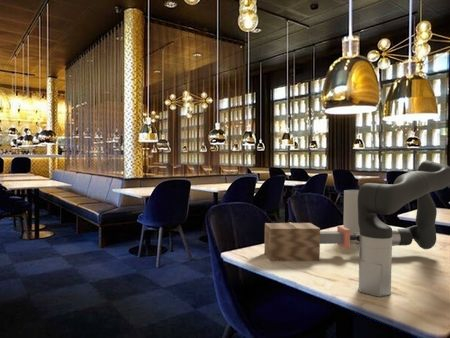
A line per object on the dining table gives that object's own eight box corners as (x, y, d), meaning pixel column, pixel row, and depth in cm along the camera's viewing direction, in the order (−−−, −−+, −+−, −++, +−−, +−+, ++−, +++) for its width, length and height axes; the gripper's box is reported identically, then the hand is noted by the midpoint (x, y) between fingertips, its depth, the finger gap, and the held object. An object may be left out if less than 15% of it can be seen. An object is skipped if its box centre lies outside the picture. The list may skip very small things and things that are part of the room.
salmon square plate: (341, 244, 149) (341, 225, 149) (349, 249, 141) (350, 229, 141) (296, 244, 148) (296, 226, 147) (301, 249, 140) (301, 230, 139)
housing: (309, 252, 150) (310, 222, 150) (319, 260, 138) (320, 227, 138) (264, 253, 149) (264, 222, 148) (270, 261, 137) (270, 228, 136)
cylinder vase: (348, 237, 181) (349, 189, 181) (373, 240, 173) (374, 191, 173) (339, 241, 172) (340, 191, 171) (365, 245, 164) (366, 192, 163)
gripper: (377, 225, 153) (339, 225, 151) (394, 231, 139) (352, 231, 138) (377, 242, 153) (339, 242, 152) (394, 250, 140) (352, 250, 138)
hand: (345, 237), depth 145 cm, fingers closed
